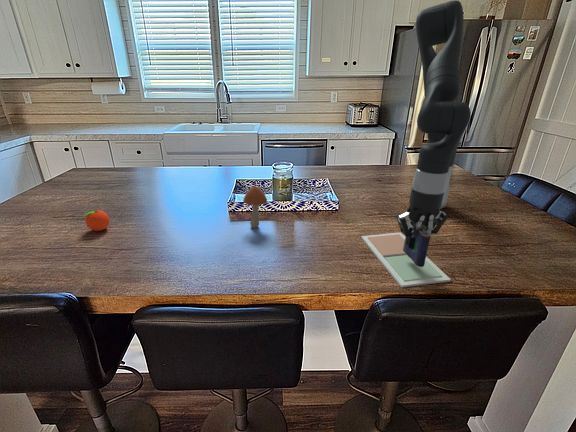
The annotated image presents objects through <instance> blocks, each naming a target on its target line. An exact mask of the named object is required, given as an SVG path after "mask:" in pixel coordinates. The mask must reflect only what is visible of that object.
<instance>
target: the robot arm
mask: <svg viewBox="0 0 576 432" xmlns="http://www.w3.org/2000/svg"><path fill="white" fill-rule="evenodd" d="M464 21H465V20H464V10H463V4H462V3H461V1H459V0H450V1H446V2H443V3H440V4H436V5H433V6H430V7H426V8H424V9H421V10H420V11H419V12H418V13H417V16H416V19H415V29H416V30H415V31H416V33H415V34H416V38H417V44H418V49H419V55H420V61H421V66H422V76H423V77H422V78H423V79H422V81H423V91H424V92H423V93H424V100H423V102H422V105H421V106H420V110H419V111H418V114H417V118H416V124H417V125H416V126H417V128H418V130H419V131H420V132H421V133H424V134H426V136H427V142H428V143H425V144H423V145H422V146H421V147H420V149H419V154H418V159H417V164H416V169H415V172H414V175H413V180H412V184H411V185H412V186H411V190H410V195H409V201H408V202H409V205H408V206H409V207H408V208H407V210H406V212H404V213H402V214H400V213H398V214H396V217H395V218H396V220H397V223H398V227H399V231H400V233H402V234H403V235H404V236H405V237H407V240H406V246H407V247H408V248H409V249H410V250H413V249H414V244H415V240H416V238H415V237H416V234H417V231H419V230H420V227H421V225H423V226H424V227H425V230H426V231H427V232H428V233H429V234H430V236H431V237H432V235H436V234H438V233H439V230H441V228H442V226H443V225H444V224H445V223H446V221H447V219H448V217H449V215H448V213H445V212H444V211H443V210H441V209H443V208H446V205H447V202H448V197H449V193H450V189H451V183H450V179H451V176H452V171H453V166H454V162H455V159H456V156H457V151H458V147H459V144H460V141H461V138H462V136H463V134H464V133H465V131H466V129H467V127H468V125H469V122H470V120H471V116H472V115H471V114H472V113H471V109H470V106H469V105H468V104H467V103H466V102H463V101H455V100H456V99H457V97H458V96H459V93H460V90H461V89H460V57H461V51H462V46H463V45H462V44H463V35H464ZM442 44H444V46H443V47H442V48H441V49H440V50H439V52H438V53H437V52H436V50H435V48H434V46H438V45H442ZM408 222H409V223H408ZM408 226H409V227H408Z"/></svg>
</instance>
